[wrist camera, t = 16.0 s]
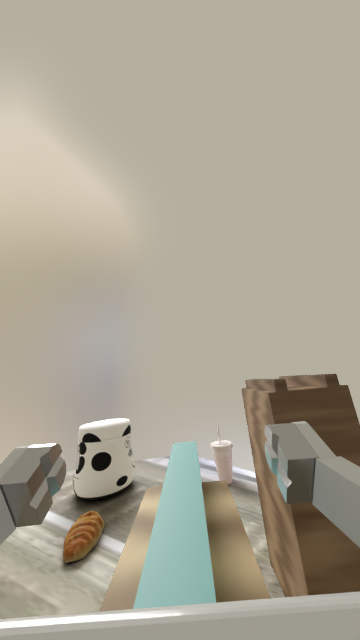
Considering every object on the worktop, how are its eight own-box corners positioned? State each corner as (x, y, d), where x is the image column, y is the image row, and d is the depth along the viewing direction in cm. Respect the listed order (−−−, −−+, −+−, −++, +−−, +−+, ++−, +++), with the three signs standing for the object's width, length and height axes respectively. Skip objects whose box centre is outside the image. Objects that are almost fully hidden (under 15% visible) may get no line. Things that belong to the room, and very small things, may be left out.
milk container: (146, 479, 66) (143, 417, 71) (106, 511, 51) (106, 429, 56) (104, 474, 73) (104, 418, 78) (57, 502, 58) (61, 429, 63)
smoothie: (224, 474, 64) (217, 424, 68) (242, 479, 60) (234, 425, 64) (210, 482, 60) (204, 428, 64) (228, 489, 56) (220, 430, 60)
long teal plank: (241, 827, 6) (223, 656, 7) (120, 835, 6) (119, 665, 7) (199, 467, 31) (196, 441, 32) (175, 469, 31) (173, 443, 32)
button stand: (443, 681, 19) (348, 372, 27) (327, 690, 19) (265, 380, 27) (338, 557, 33) (295, 375, 40) (270, 563, 33) (240, 380, 40)
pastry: (93, 563, 36) (93, 535, 38) (51, 571, 36) (53, 543, 37) (105, 527, 45) (105, 506, 46) (73, 533, 45) (73, 512, 46)
